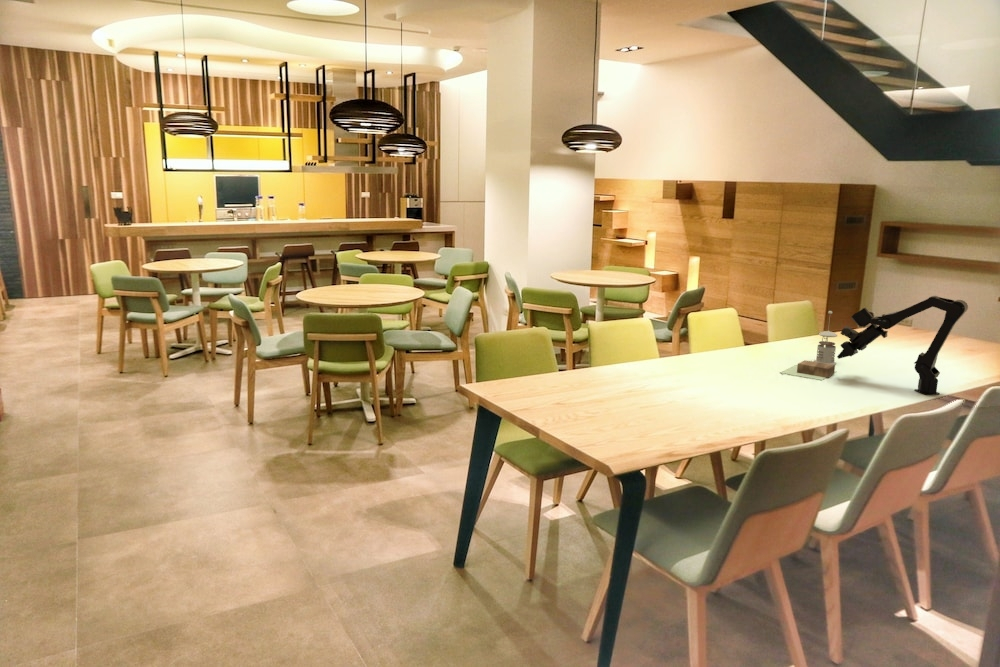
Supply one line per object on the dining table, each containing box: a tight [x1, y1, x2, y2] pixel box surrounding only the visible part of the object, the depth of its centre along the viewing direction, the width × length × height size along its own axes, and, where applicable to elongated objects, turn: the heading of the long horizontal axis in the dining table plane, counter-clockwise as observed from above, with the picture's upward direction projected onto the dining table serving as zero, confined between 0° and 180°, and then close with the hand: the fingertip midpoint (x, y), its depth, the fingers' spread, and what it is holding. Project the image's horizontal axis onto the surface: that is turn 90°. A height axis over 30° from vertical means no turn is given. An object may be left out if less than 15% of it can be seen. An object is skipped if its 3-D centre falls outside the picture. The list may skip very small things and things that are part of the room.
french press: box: [813, 310, 838, 366], centre depth 328 cm, size 10×12×25 cm
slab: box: [797, 360, 836, 379], centre depth 309 cm, size 4×9×13 cm
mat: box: [779, 364, 837, 381], centre depth 311 cm, size 18×20×1 cm
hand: (838, 357), depth 302 cm, fingers closed
